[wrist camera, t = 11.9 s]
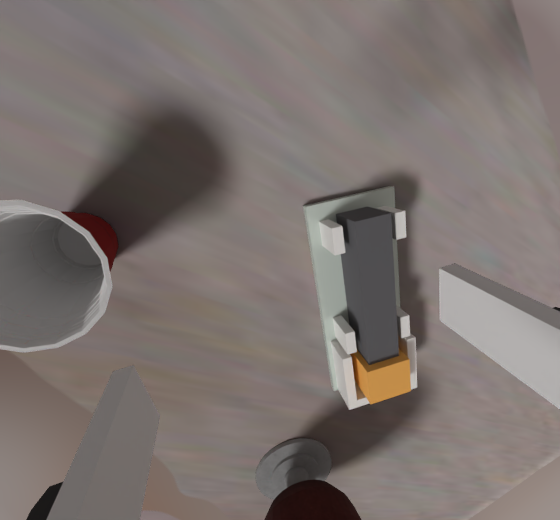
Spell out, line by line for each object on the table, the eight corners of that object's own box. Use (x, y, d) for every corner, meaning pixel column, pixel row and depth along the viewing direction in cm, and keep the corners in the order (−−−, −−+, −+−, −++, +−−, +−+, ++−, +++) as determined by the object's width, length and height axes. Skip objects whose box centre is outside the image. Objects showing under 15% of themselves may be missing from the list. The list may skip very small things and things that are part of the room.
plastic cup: (167, 248, 33) (143, 293, 21) (89, 306, 33) (24, 379, 22) (90, 163, 29) (11, 163, 17) (1, 228, 29) (-134, 270, 18)
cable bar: (329, 215, 34) (352, 225, 29) (373, 205, 35) (403, 213, 29) (350, 372, 42) (370, 404, 36) (385, 361, 43) (410, 391, 37)
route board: (302, 205, 34) (316, 212, 30) (389, 185, 36) (415, 189, 31) (331, 386, 43) (345, 413, 39) (399, 364, 45) (420, 388, 40)
